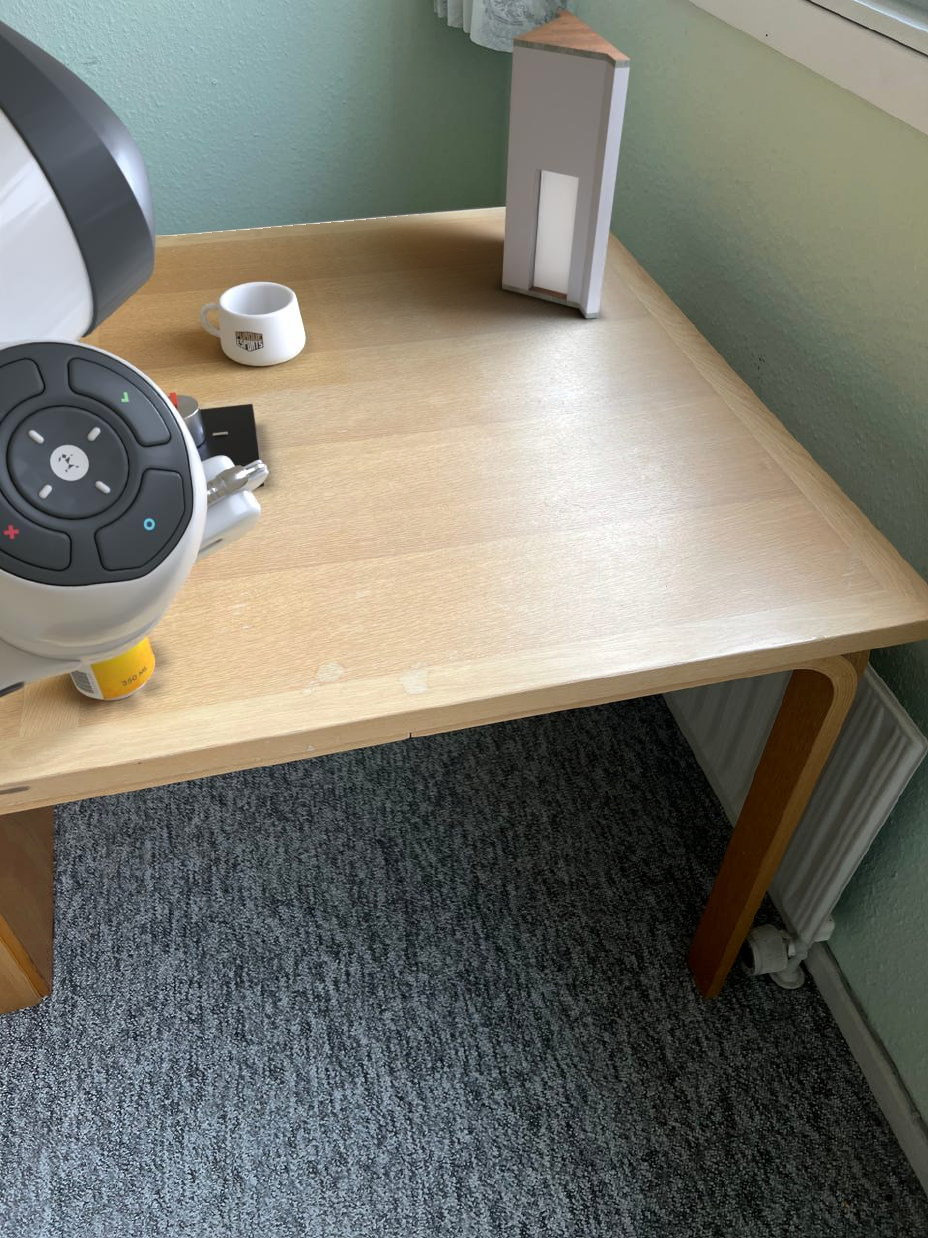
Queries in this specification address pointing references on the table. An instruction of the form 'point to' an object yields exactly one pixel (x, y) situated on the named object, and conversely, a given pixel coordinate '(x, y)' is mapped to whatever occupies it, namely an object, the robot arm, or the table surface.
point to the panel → (230, 434)
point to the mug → (258, 323)
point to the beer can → (116, 674)
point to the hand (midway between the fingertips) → (75, 605)
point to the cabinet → (562, 161)
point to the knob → (190, 415)
